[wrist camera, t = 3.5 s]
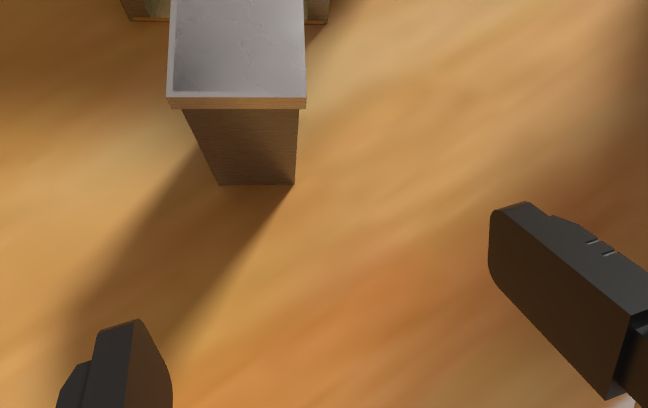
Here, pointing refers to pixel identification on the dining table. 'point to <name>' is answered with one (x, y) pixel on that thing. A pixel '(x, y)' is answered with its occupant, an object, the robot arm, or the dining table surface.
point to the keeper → (155, 3)
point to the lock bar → (240, 84)
